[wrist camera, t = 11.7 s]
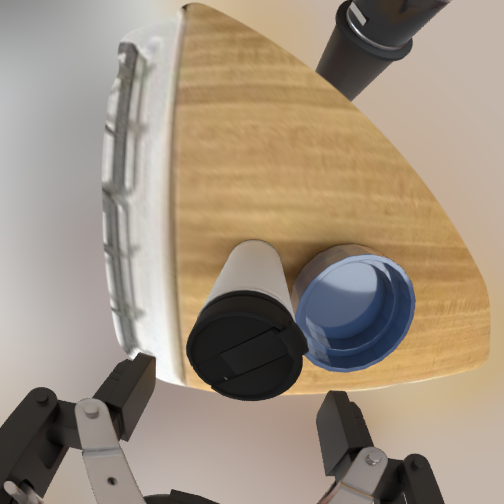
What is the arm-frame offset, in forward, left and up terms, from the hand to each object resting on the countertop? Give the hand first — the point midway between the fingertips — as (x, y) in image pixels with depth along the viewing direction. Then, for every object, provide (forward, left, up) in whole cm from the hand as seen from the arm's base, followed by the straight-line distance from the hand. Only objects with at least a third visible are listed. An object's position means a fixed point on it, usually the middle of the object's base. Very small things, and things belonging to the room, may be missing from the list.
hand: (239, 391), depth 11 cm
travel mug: (0, 0, -22) cm, 22 cm away
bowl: (+2, +12, -22) cm, 25 cm away
